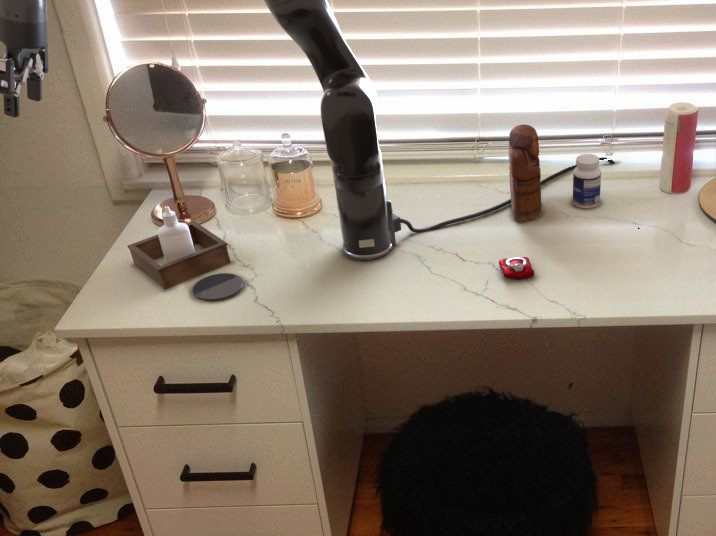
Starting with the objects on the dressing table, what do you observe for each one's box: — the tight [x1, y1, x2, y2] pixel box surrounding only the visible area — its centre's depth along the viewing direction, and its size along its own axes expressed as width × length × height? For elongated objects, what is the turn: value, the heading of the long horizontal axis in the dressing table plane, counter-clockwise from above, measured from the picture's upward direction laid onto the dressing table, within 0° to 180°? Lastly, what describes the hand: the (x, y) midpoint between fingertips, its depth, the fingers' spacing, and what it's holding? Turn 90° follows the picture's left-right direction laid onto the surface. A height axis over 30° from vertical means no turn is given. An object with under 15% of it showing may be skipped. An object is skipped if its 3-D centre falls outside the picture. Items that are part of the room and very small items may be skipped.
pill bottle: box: [572, 153, 602, 209], centre depth 181 cm, size 6×6×10 cm
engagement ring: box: [498, 256, 535, 280], centre depth 161 cm, size 6×6×3 cm
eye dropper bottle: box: [157, 205, 196, 264], centre depth 164 cm, size 4×6×12 cm
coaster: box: [192, 272, 245, 302], centre depth 160 cm, size 9×9×1 cm
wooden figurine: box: [508, 124, 542, 223], centre depth 177 cm, size 12×6×18 cm, turn 2°
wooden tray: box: [126, 220, 231, 290], centre depth 167 cm, size 14×13×4 cm
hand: (23, 107), depth 151 cm, fingers open, 8 cm apart
